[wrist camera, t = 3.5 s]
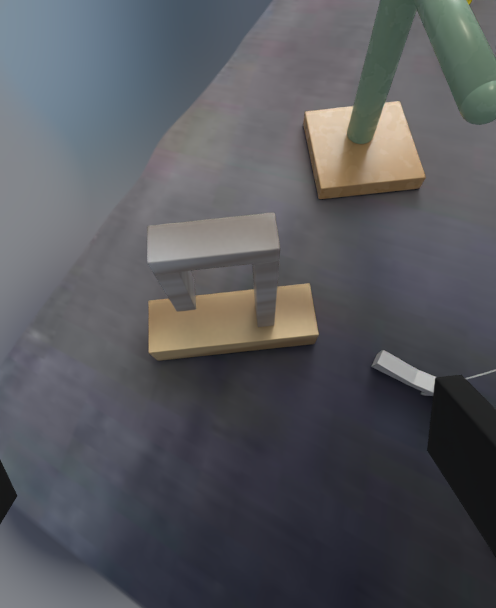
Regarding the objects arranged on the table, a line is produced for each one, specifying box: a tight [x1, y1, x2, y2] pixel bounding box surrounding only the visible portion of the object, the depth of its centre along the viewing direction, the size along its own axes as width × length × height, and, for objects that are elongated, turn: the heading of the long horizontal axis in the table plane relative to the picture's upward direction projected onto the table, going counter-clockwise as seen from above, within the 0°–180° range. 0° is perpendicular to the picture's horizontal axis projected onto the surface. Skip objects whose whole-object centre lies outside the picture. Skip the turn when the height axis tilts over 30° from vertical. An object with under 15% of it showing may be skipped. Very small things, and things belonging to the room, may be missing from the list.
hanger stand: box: [303, 0, 496, 199], centre depth 26 cm, size 16×9×17 cm, turn 6°
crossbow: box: [371, 350, 496, 409], centre depth 26 cm, size 16×13×2 cm
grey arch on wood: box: [147, 213, 319, 361], centre depth 23 cm, size 4×12×13 cm, turn 96°
